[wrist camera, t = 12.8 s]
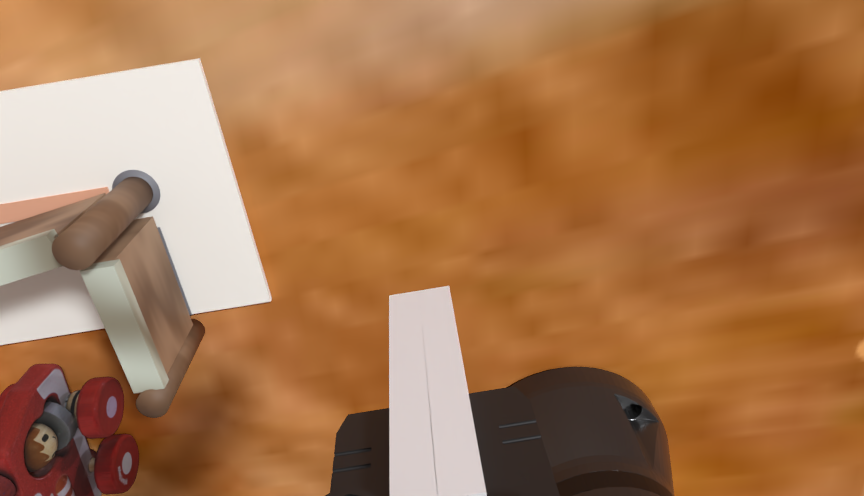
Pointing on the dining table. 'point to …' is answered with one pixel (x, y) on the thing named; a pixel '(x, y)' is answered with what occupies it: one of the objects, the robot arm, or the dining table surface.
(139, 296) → the fence fixed section
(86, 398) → the toy fire truck
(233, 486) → the dining table surface
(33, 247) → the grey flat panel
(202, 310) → the card
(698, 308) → the dining table surface
